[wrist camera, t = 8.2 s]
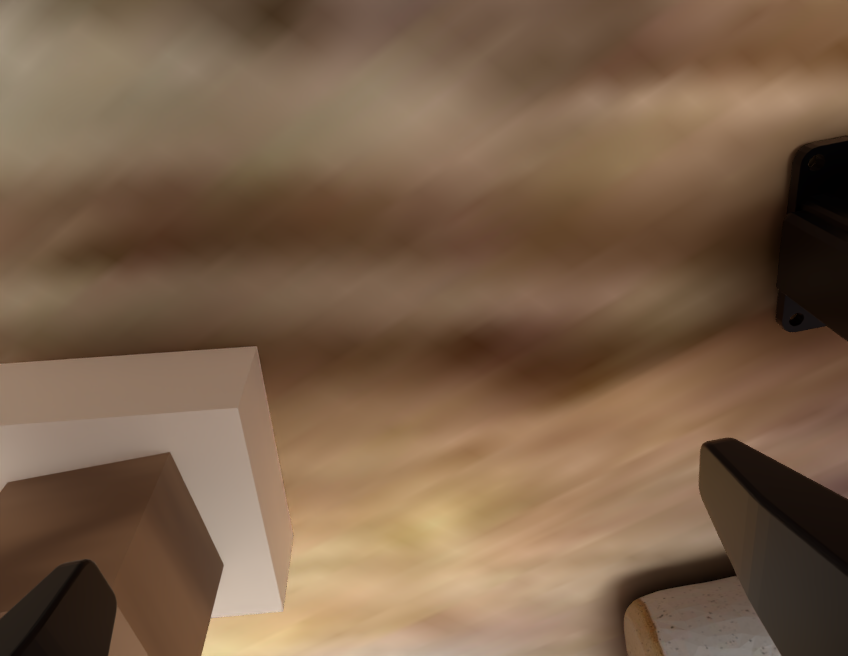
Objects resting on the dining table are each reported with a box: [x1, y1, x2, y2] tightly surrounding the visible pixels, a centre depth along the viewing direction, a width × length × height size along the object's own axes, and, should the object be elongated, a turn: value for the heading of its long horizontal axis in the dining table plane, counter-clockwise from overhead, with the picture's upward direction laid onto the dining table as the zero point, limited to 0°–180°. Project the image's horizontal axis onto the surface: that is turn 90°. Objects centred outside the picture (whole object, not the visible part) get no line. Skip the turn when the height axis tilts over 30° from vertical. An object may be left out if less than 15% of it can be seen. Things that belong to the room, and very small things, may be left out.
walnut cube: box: [0, 452, 224, 656], centre depth 18 cm, size 5×5×5 cm
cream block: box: [0, 346, 294, 618], centre depth 22 cm, size 9×9×4 cm
